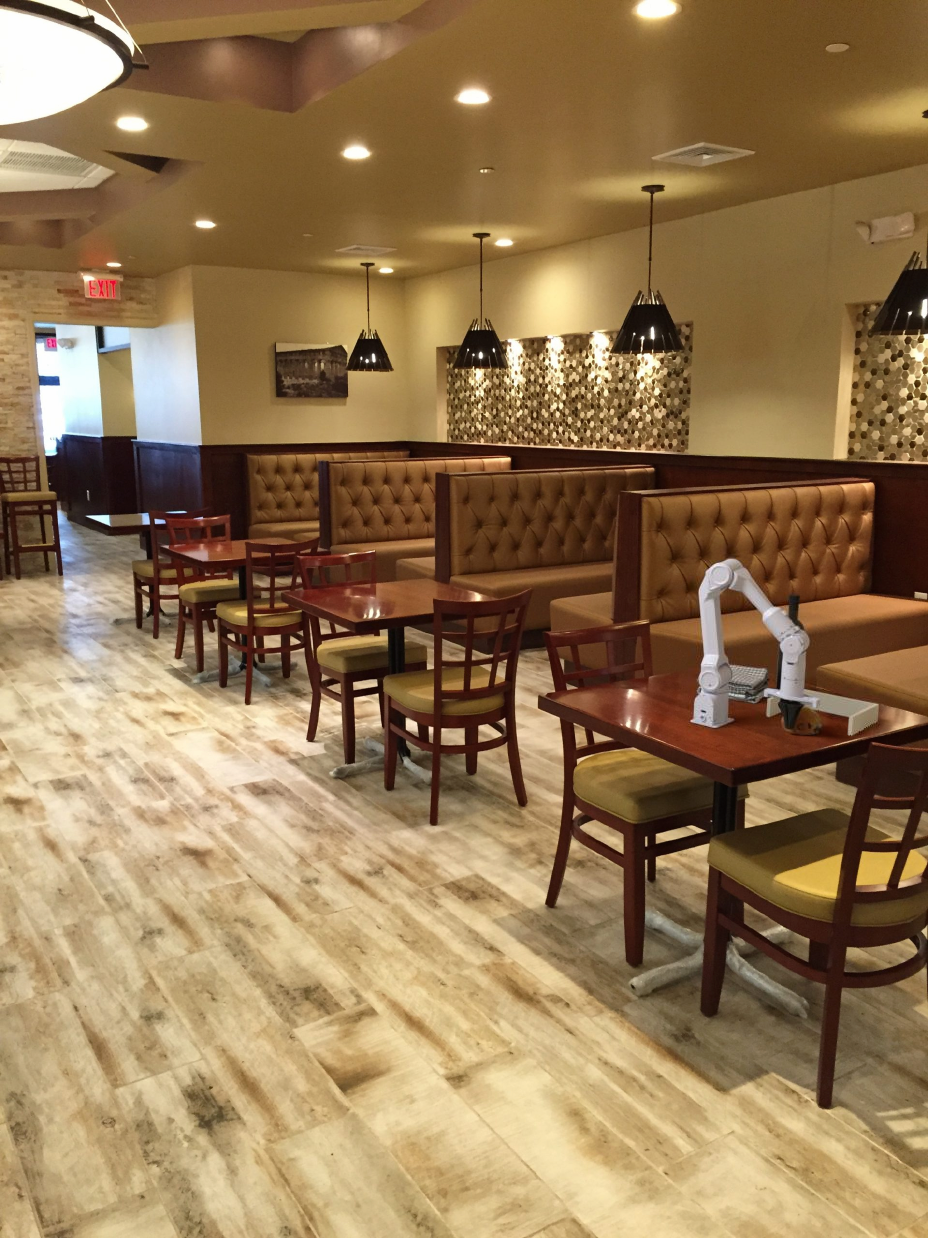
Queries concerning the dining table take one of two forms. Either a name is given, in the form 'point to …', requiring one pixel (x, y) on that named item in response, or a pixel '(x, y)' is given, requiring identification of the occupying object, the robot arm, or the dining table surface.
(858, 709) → the box
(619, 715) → the dining table surface
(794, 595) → the wine bottle
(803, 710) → the bread roll
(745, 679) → the towel
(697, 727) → the dining table surface
